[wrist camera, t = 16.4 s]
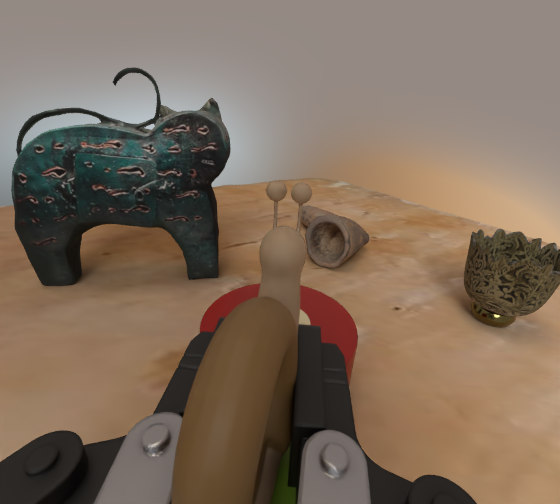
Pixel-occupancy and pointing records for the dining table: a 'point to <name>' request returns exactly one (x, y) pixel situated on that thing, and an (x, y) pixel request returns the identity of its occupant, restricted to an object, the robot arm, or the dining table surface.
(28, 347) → the dining table surface
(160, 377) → the dining table surface
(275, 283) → the snail figurine
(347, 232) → the pipe
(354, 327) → the cheese
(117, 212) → the ceramic cat
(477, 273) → the cup
